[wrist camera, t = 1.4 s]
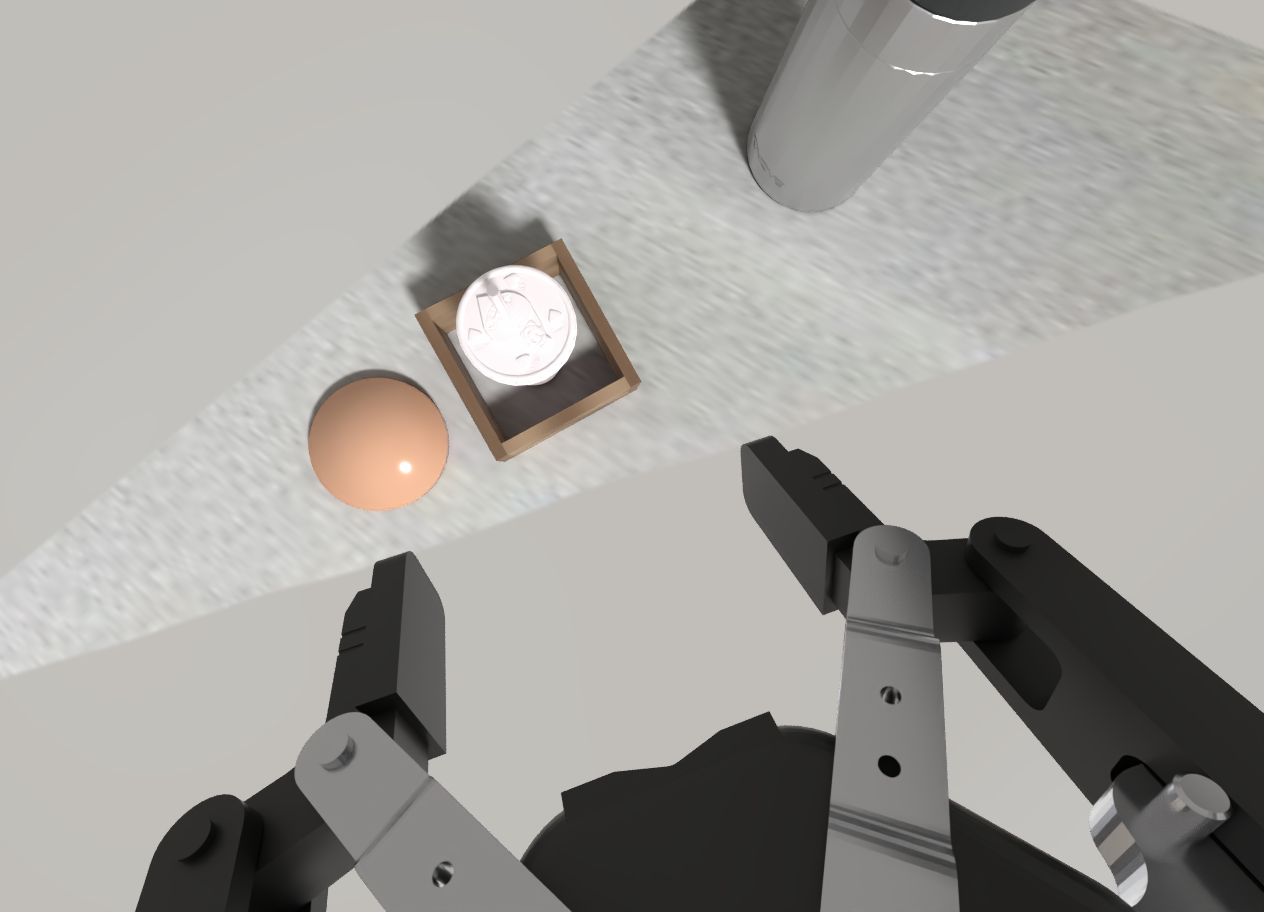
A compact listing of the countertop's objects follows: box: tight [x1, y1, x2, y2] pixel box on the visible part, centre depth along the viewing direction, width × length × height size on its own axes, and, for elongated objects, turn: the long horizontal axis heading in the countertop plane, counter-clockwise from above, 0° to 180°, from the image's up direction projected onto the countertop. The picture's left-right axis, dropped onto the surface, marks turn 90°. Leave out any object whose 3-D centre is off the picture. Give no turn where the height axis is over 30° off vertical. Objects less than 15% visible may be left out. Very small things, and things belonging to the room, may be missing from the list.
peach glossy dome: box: [309, 378, 449, 511], centre depth 37 cm, size 9×9×1 cm
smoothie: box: [456, 265, 577, 386], centre depth 32 cm, size 6×6×14 cm
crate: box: [415, 238, 641, 462], centre depth 37 cm, size 11×11×4 cm
